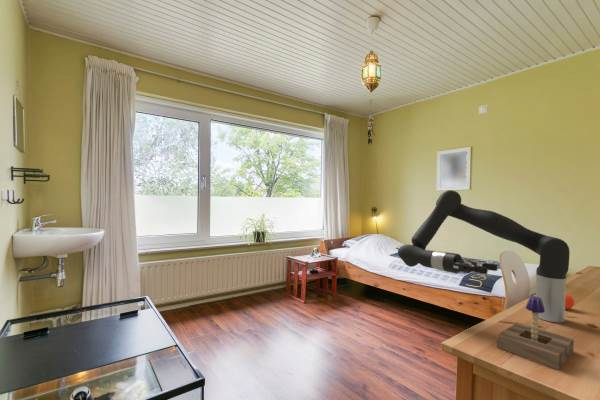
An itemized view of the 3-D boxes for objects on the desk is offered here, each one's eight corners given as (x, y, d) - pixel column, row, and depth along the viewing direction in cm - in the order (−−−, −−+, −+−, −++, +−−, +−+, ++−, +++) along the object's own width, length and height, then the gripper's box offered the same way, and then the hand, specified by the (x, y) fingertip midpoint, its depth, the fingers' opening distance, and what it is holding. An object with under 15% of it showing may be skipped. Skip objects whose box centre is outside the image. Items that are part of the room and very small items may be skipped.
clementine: (553, 304, 139) (553, 289, 139) (573, 307, 134) (573, 292, 134) (553, 308, 133) (554, 292, 133) (574, 312, 128) (575, 296, 128)
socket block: (516, 333, 105) (517, 322, 105) (573, 351, 93) (573, 339, 93) (496, 347, 94) (497, 334, 94) (557, 369, 82) (558, 355, 82)
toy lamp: (547, 354, 90) (548, 300, 90) (529, 352, 91) (531, 298, 91) (537, 347, 95) (539, 295, 95) (521, 345, 96) (522, 294, 96)
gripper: (437, 254, 112) (483, 261, 99) (454, 250, 121) (500, 256, 108) (436, 273, 112) (483, 283, 99) (454, 269, 121) (500, 277, 108)
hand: (492, 269), depth 104 cm, fingers open, 8 cm apart
